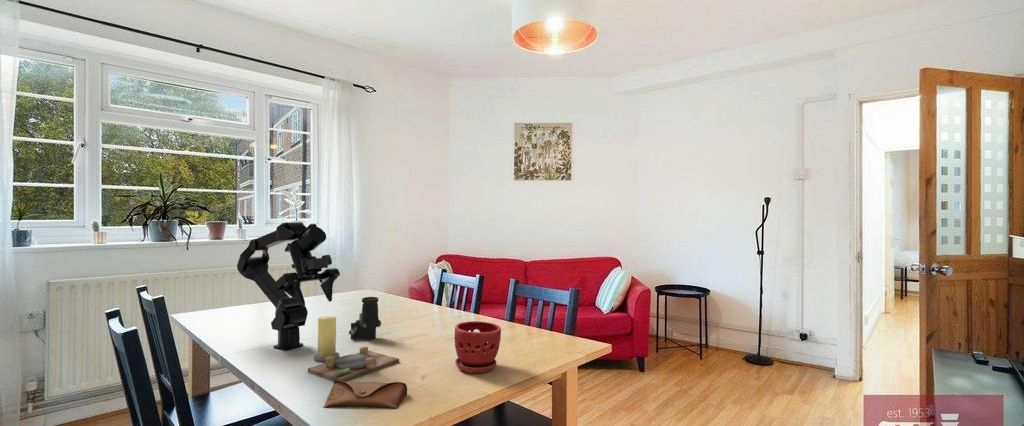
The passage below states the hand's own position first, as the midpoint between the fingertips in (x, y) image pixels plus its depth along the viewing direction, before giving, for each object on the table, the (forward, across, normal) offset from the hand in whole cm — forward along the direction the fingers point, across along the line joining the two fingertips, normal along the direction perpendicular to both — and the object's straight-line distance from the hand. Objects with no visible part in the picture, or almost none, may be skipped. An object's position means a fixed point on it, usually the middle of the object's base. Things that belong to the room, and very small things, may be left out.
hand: (317, 303), depth 141 cm
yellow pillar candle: (+16, 0, +4) cm, 17 cm away
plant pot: (+38, +18, -32) cm, 53 cm away
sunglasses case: (+34, -15, -25) cm, 45 cm away
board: (+23, -1, -8) cm, 24 cm away
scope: (+12, +21, +10) cm, 26 cm away
